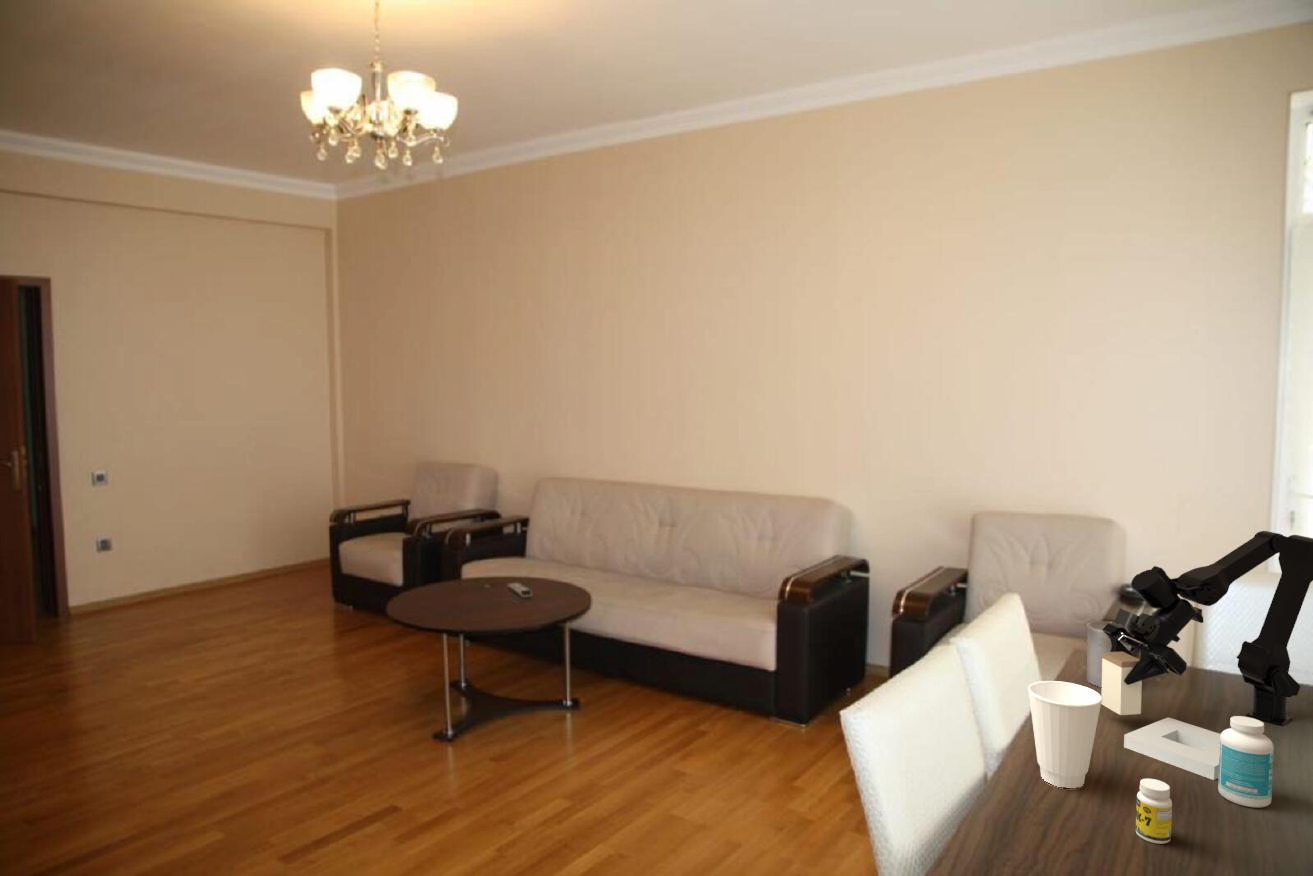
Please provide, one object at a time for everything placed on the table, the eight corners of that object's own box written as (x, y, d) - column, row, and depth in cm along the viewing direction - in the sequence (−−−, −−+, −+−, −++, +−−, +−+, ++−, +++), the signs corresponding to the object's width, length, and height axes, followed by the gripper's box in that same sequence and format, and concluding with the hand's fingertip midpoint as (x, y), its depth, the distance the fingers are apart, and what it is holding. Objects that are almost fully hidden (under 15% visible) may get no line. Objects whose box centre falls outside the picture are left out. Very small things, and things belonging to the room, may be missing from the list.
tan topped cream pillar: (1121, 702, 175) (1122, 651, 175) (1140, 714, 169) (1142, 660, 169) (1101, 704, 175) (1102, 652, 174) (1120, 715, 169) (1121, 662, 168)
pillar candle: (1134, 681, 198) (1135, 618, 197) (1131, 694, 190) (1132, 628, 189) (1088, 674, 203) (1089, 613, 202) (1084, 686, 195) (1084, 623, 194)
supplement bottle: (1128, 829, 132) (1130, 777, 132) (1156, 827, 133) (1158, 776, 132) (1149, 845, 127) (1150, 792, 127) (1178, 844, 128) (1180, 790, 127)
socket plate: (1167, 729, 170) (1168, 717, 170) (1256, 758, 157) (1257, 746, 157) (1123, 747, 162) (1124, 734, 162) (1213, 780, 148) (1214, 766, 148)
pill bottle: (1280, 812, 137) (1284, 732, 136) (1230, 807, 139) (1233, 728, 138) (1257, 790, 145) (1260, 714, 144) (1210, 786, 146) (1212, 711, 145)
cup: (1093, 770, 152) (1096, 684, 151) (1105, 801, 141) (1108, 708, 140) (1023, 761, 156) (1025, 677, 155) (1028, 790, 145) (1031, 700, 144)
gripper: (1111, 585, 180) (1062, 638, 180) (1174, 608, 162) (1120, 667, 161) (1144, 620, 182) (1095, 672, 181) (1210, 646, 163) (1156, 704, 163)
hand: (1115, 677), depth 172 cm, fingers closed on tan topped cream pillar, 6 cm apart
